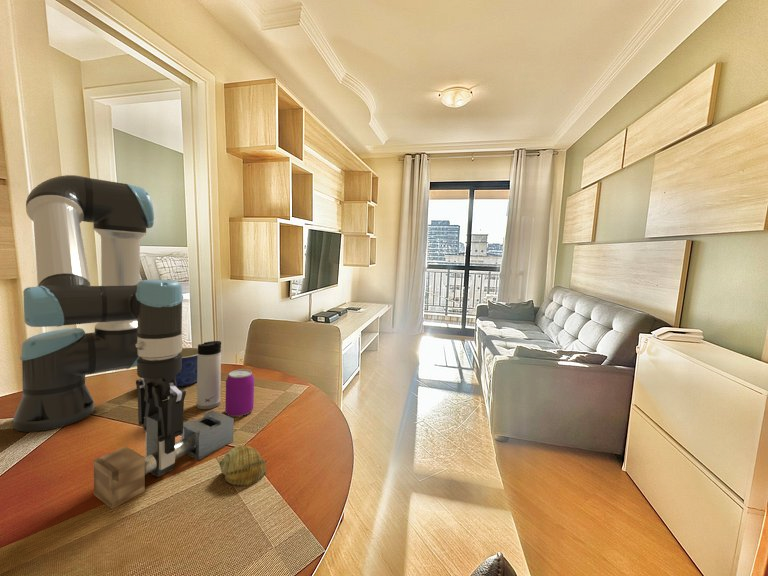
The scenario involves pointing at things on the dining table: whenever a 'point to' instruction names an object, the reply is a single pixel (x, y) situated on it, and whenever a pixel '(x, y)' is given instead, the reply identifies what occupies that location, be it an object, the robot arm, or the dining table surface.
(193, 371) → the planter
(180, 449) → the sliding bolt
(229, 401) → the beverage can
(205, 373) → the travel mug
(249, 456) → the seashell
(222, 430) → the sleeve
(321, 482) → the dining table surface
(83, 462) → the dining table surface
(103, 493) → the socket
